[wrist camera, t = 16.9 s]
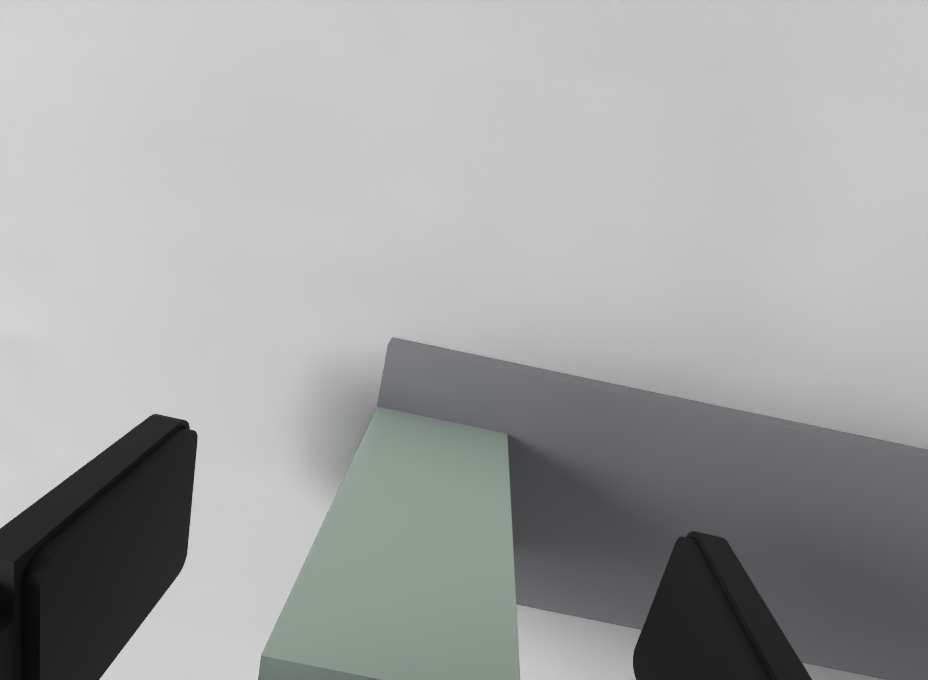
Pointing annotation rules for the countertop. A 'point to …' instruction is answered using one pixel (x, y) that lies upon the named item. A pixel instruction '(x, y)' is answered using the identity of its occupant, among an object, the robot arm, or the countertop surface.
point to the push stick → (593, 524)
